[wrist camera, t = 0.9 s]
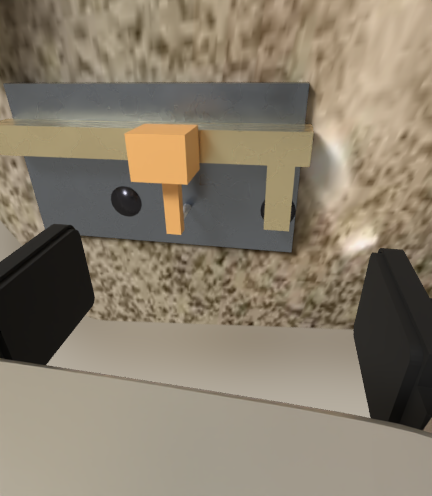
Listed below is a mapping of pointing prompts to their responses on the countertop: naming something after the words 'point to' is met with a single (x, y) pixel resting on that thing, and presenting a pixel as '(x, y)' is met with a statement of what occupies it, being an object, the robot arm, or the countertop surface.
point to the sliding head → (165, 164)
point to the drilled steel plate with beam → (151, 194)
